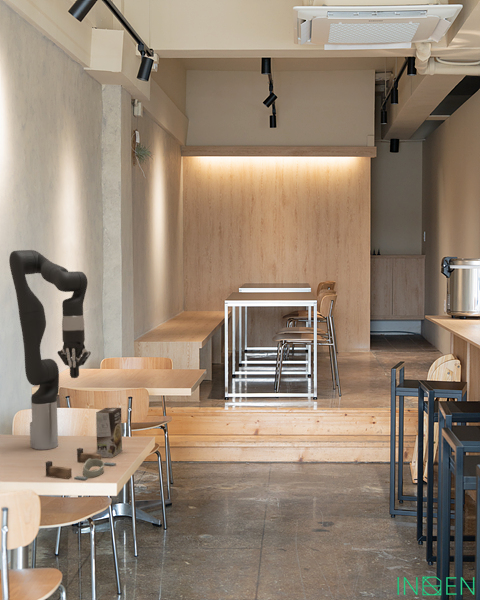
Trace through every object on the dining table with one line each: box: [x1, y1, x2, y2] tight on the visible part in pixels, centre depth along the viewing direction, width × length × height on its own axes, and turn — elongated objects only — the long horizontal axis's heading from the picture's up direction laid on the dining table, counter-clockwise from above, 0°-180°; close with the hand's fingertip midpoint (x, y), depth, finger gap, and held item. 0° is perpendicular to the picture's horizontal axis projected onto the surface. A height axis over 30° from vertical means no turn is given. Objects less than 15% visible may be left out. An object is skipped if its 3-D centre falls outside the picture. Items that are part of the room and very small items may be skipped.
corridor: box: [45, 447, 102, 480], centre depth 216 cm, size 9×18×4 cm, turn 157°
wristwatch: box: [82, 458, 105, 479], centre depth 211 cm, size 9×6×5 cm
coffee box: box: [95, 407, 123, 458], centre depth 234 cm, size 9×6×16 cm
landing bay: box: [74, 461, 117, 482], centre depth 212 cm, size 4×18×1 cm, turn 157°
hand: (74, 377), depth 226 cm, fingers closed
